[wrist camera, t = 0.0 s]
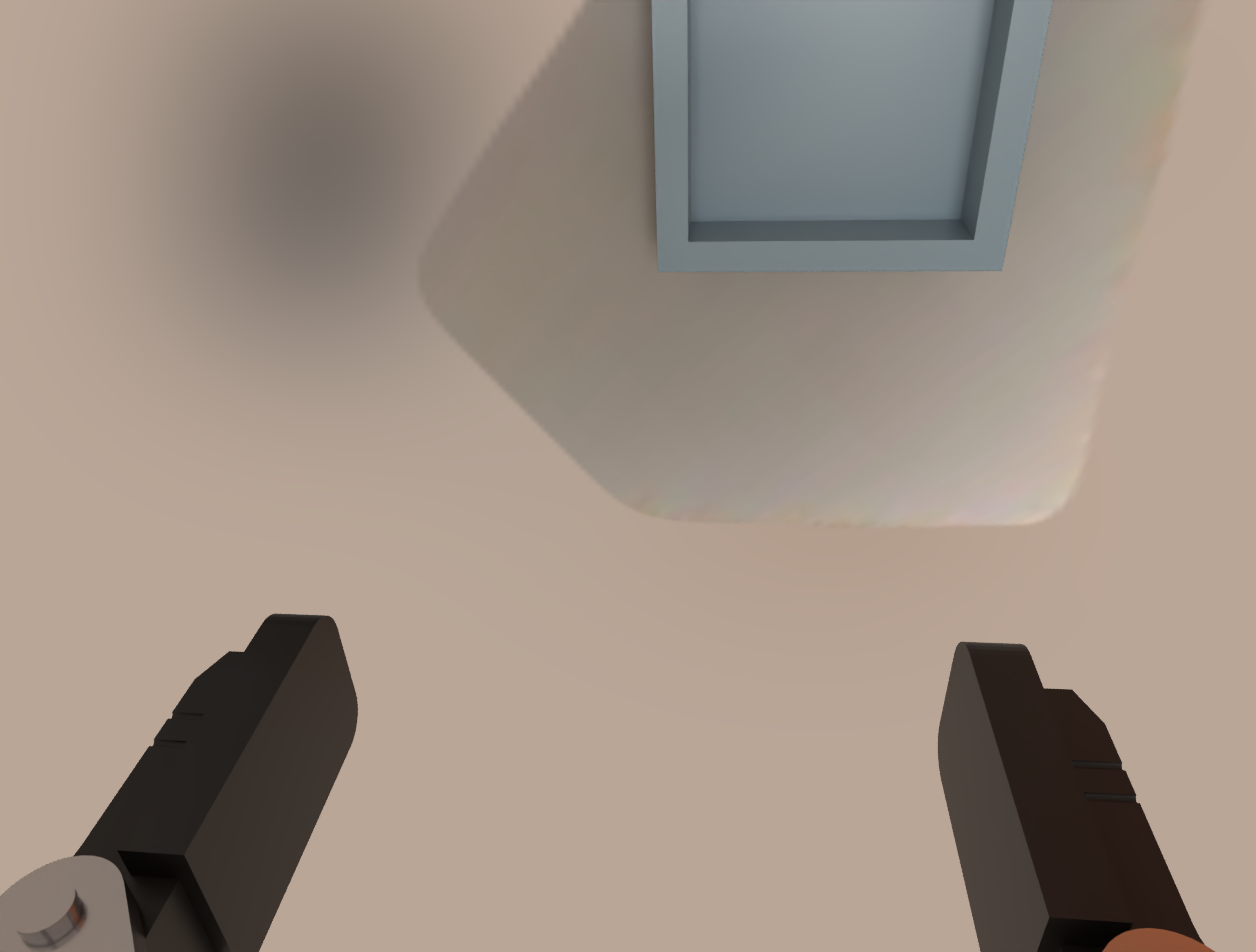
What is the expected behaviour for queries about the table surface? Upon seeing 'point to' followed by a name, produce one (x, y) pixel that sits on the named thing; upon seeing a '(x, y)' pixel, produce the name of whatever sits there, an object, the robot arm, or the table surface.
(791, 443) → the table surface
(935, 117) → the slate tray
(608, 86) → the table surface
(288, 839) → the robot arm
